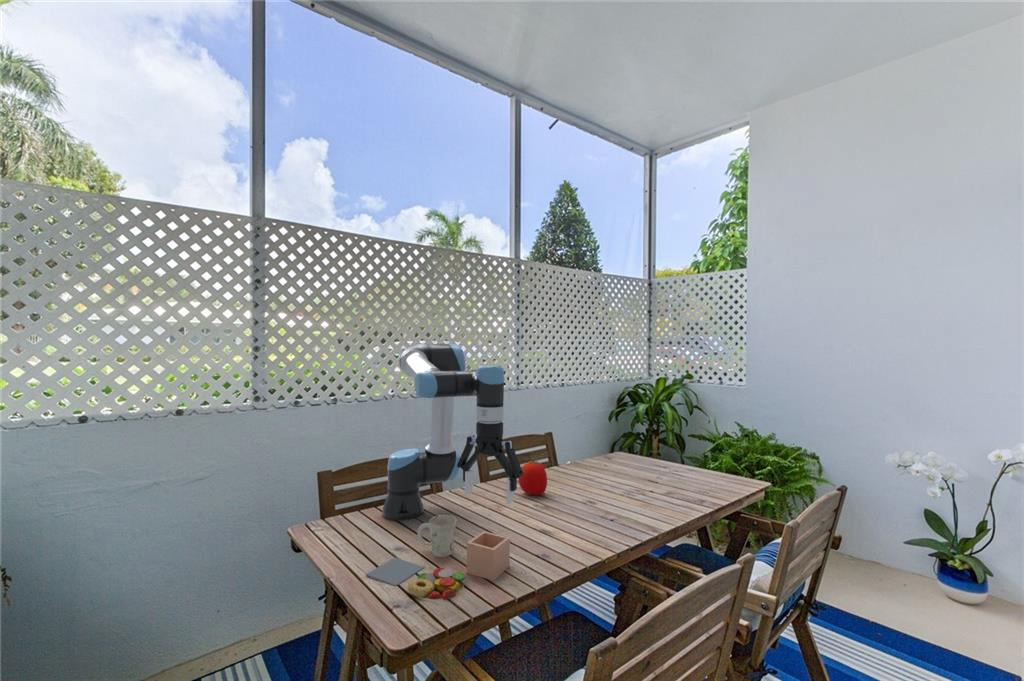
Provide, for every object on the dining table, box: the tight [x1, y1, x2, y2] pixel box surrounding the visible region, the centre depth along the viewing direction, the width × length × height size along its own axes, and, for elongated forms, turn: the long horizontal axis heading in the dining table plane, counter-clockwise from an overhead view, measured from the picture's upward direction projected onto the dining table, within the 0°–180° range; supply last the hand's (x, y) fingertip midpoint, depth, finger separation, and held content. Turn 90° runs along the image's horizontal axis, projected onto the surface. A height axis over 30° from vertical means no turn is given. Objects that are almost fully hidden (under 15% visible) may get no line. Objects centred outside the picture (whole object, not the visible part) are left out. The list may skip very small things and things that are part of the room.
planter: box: [466, 530, 511, 581], centre depth 122 cm, size 9×9×9 cm
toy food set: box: [407, 567, 467, 603], centre depth 114 cm, size 13×13×3 cm
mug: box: [416, 514, 458, 558], centre depth 134 cm, size 8×13×10 cm, turn 78°
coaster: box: [365, 557, 425, 587], centre depth 122 cm, size 11×11×1 cm
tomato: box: [517, 460, 548, 496], centre depth 186 cm, size 13×11×14 cm
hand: (488, 497), depth 123 cm, fingers open, 13 cm apart
